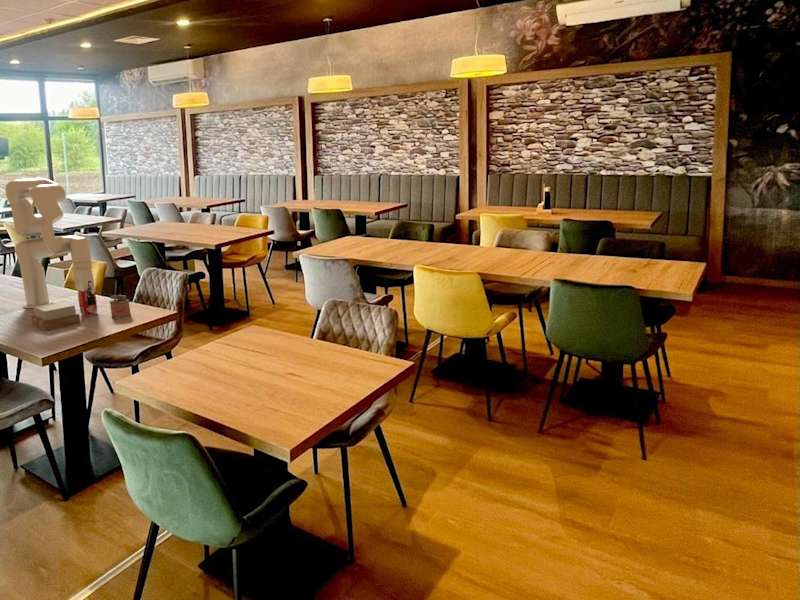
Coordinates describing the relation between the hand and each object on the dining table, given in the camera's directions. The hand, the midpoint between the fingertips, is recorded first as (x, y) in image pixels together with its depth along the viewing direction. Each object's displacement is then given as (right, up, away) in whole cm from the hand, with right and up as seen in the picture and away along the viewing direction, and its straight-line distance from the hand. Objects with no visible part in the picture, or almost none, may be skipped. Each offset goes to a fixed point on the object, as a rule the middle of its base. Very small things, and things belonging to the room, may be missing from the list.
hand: (87, 303), depth 285 cm
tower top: (-7, -5, -15) cm, 17 cm away
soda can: (0, -5, +1) cm, 5 cm away
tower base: (-7, -9, -14) cm, 18 cm away
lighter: (+17, -6, -4) cm, 18 cm away
